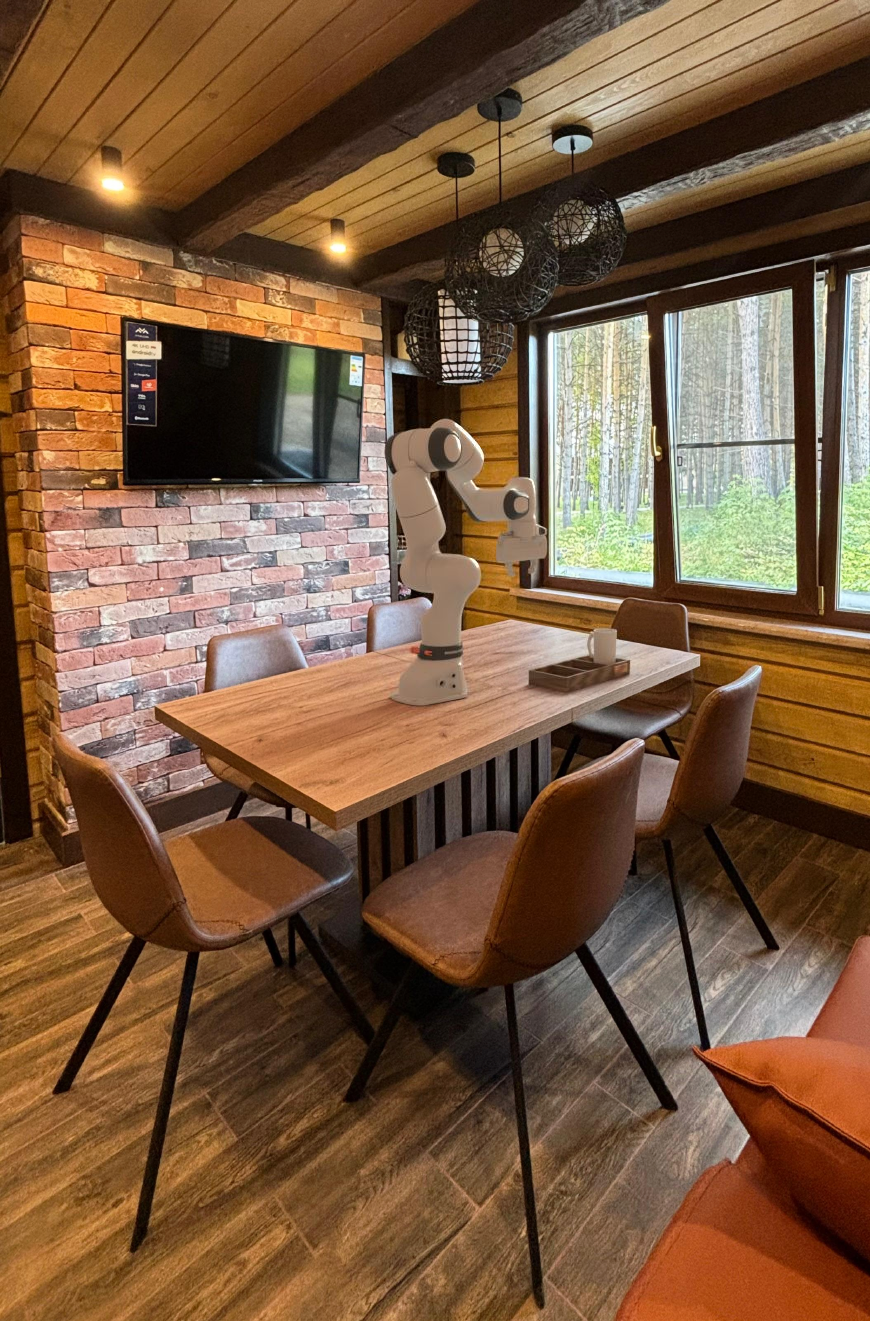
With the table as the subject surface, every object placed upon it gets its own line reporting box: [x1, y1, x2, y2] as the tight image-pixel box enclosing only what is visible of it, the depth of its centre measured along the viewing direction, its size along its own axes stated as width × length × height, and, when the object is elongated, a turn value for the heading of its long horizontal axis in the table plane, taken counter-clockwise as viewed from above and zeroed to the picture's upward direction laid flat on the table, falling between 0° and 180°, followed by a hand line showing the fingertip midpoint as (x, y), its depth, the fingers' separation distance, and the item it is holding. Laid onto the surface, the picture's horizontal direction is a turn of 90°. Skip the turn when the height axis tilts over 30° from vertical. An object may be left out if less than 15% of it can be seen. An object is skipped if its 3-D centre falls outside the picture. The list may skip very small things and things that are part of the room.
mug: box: [586, 627, 618, 665], centre depth 226 cm, size 10×7×12 cm, turn 38°
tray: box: [528, 654, 631, 693], centre depth 221 cm, size 30×15×4 cm, turn 131°
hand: (521, 575), depth 235 cm, fingers open, 8 cm apart
